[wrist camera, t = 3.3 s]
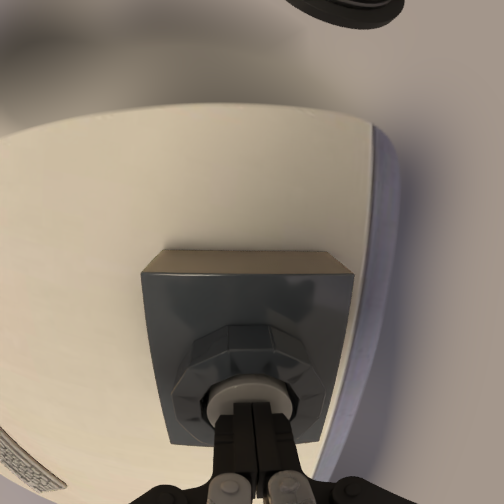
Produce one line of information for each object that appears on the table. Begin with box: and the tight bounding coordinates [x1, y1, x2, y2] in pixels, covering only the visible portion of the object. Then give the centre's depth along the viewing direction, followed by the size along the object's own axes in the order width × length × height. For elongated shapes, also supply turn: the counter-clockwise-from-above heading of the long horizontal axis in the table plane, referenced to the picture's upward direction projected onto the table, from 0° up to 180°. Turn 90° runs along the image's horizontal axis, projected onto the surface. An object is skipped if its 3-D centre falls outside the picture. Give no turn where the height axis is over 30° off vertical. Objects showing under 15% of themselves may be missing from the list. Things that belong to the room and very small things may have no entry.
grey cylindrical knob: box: [207, 374, 292, 428], centre depth 12 cm, size 4×4×2 cm
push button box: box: [141, 250, 355, 447], centre depth 14 cm, size 11×9×6 cm
